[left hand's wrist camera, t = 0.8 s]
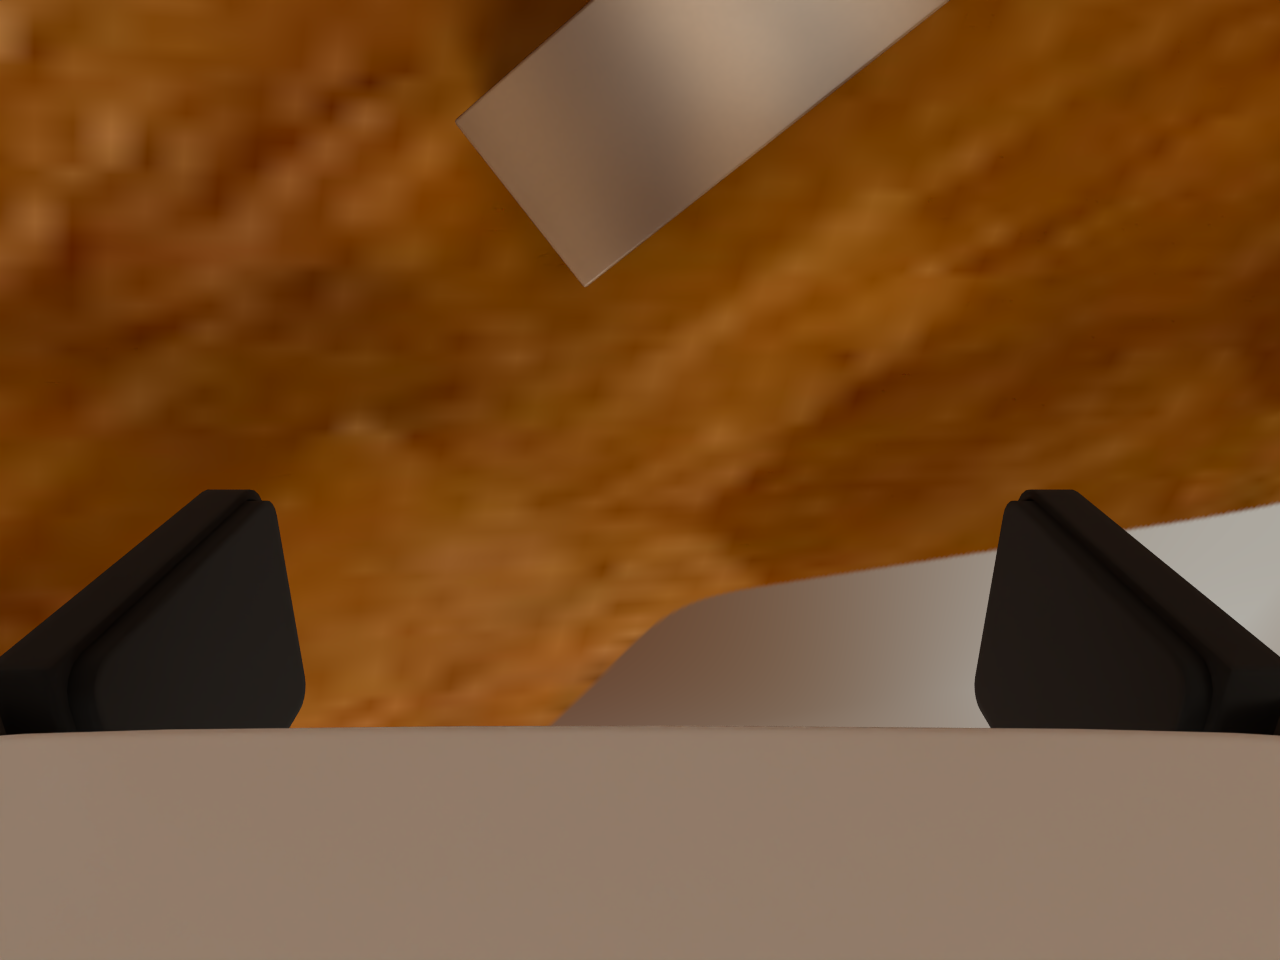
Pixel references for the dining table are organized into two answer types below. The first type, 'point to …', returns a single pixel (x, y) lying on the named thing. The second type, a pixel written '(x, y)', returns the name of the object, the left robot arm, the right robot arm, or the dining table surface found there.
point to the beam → (663, 107)
